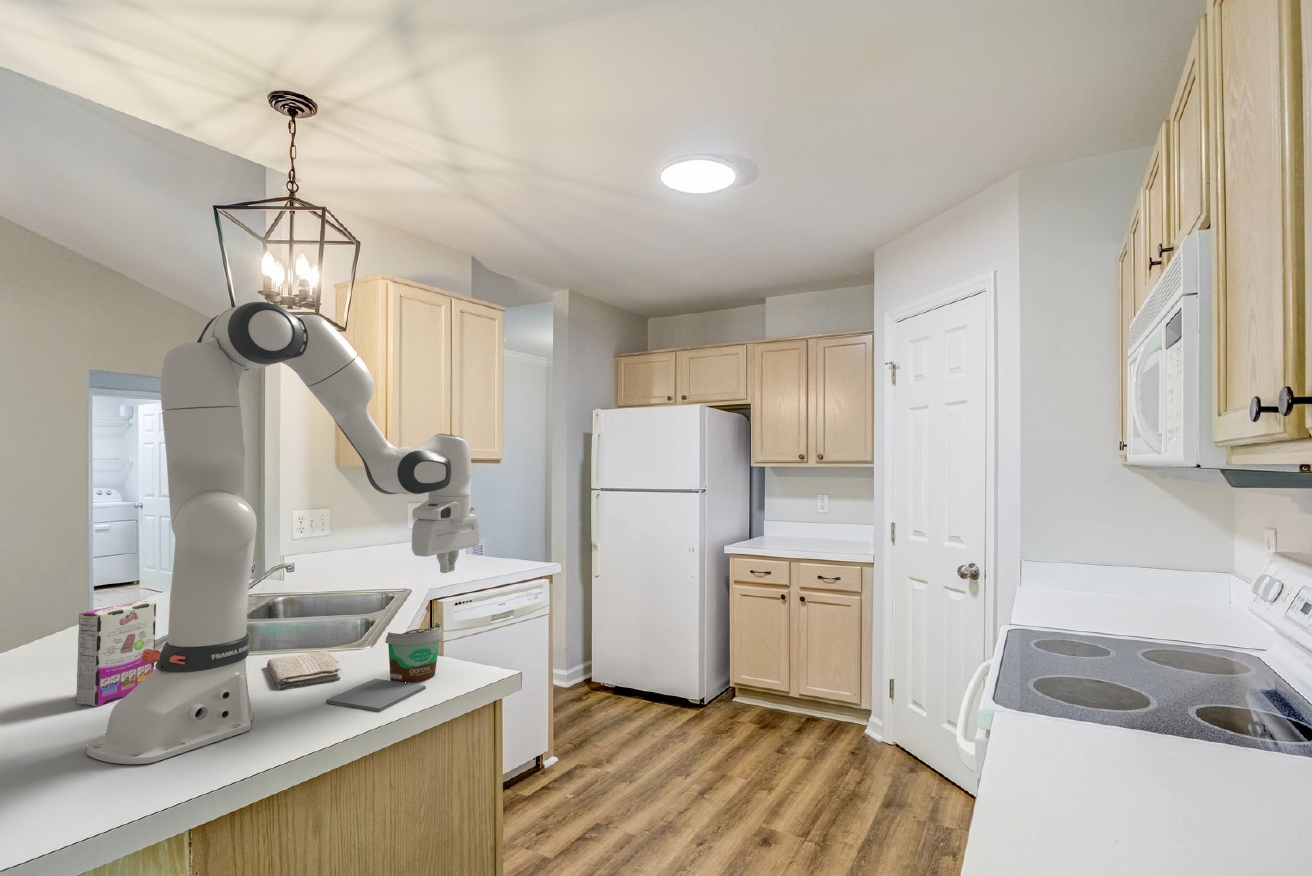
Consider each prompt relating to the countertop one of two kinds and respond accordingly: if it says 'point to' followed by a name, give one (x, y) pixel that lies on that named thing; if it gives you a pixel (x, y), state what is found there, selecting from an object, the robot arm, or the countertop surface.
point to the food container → (414, 654)
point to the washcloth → (304, 669)
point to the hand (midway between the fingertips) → (447, 572)
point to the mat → (376, 694)
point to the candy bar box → (114, 651)
